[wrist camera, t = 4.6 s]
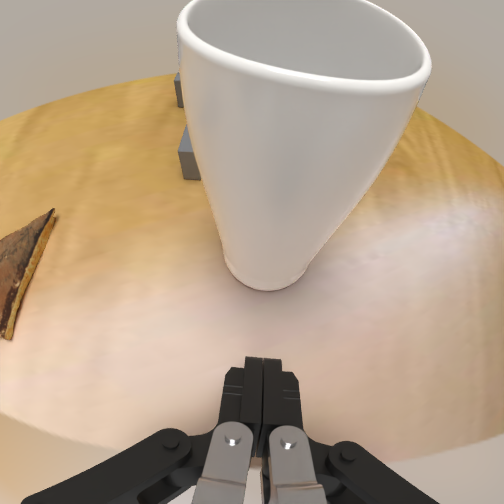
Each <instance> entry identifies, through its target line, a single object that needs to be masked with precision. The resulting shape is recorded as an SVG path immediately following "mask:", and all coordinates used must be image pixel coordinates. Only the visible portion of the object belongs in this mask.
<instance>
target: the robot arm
mask: <svg viewBox="0 0 504 504" xmlns="http://www.w3.org/2000/svg"><path fill="white" fill-rule="evenodd" d="M255 452H256V457H262V468H261V472H260V478H261V494H262V504H439V503H438V502H436V501H435V500H434V499H432V498H430V497H429V496H428V495H426V494H425V493H423V492H422V491H420V490H419V489H417V488H416V487H415V486H413V485H412V484H410V483H409V482H408V481H406V480H405V479H404V478H402V477H401V476H399V475H398V474H397V473H395V472H394V471H393V470H391V469H390V468H388V467H387V466H386V465H385V464H383V463H382V462H381V461H379V460H378V459H377V458H375V457H374V456H373V455H372V454H370V453H369V452H368V451H366V450H365V449H364V448H363V447H361V446H360V445H358V444H357V443H354V442H350V441H342V442H339V443H336V444H335V445H334V446H329V445H325V444H321V443H318V442H315V441H313V440H312V439H310V438H309V437H308V436H307V435H306V433H305V432H304V429H303V423H302V412H301V402H300V392H299V382H298V380H297V378H296V377H295V375H294V374H293V372H284V371H282V362H281V359H270V358H264V360H263V358H257V357H247V356H246V357H245V366H244V368H236V367H231V369H230V370H229V371H228V372H227V374H226V375H225V381H224V387H223V394H222V400H221V406H220V413H219V419H218V423H217V425H216V427H215V428H214V429H213V430H211V431H210V432H208V433H206V434H203V435H196V436H187V435H186V434H185V433H184V432H182V431H181V430H178V429H173V428H167V429H162V430H160V431H158V432H156V433H154V434H153V435H151V436H149V437H148V438H146V439H144V440H142V441H141V442H139V443H137V444H135V445H133V446H132V447H130V448H128V449H126V450H124V451H122V452H121V453H119V454H117V455H115V456H113V457H111V458H109V459H108V460H106V461H104V462H102V463H100V464H98V465H96V466H94V467H92V468H90V469H88V470H86V471H84V472H82V473H80V474H78V475H76V476H73V477H71V478H69V479H67V480H65V481H63V482H61V483H58V484H56V485H54V486H52V487H49V488H47V489H45V490H42V491H40V492H38V493H35V494H33V495H31V496H28V497H26V498H25V499H24V500H23V501H22V502H21V504H167V503H168V502H170V501H171V500H173V499H174V498H176V497H177V496H179V495H180V494H182V493H183V492H184V491H186V490H187V489H189V488H190V487H191V486H194V485H196V489H195V493H194V496H193V500H192V503H191V504H243V501H244V495H245V488H246V481H247V475H248V471H249V467H250V462H251V457H254V456H255Z"/></svg>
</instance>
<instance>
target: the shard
mask: <svg viewBox="0 0 504 504" xmlns="http://www.w3.org/2000/svg"><path fill="white" fill-rule="evenodd" d="M54 213H55V208H53V209H51V210H50V211H49V212H47V213H46V214H44V215H42V216H40V217H39V218H36V219H35V220H33V221H32V222H31V223H30V224H28V225H27V226H25V227H23V228H21V229H20V230H18V231H15V232H14V233H11V234H9V235H8V236H6V237H4V238H3V239H1V240H0V337H2V338H3V339H6V340H11V338H12V335H13V326H14V322H15V318H16V312H17V309H18V307H19V305H20V301H21V299H22V296H23V294H24V292H25V289H26V287H27V285H28V283H29V281H30V279H31V277H32V274H33V272H34V270H35V267H36V265H37V264H38V262H39V259H40V257H41V254H42V253H43V251H44V249H45V247H46V244H47V241H48V239H49V235H50V233H51V230H52V229H53V225H54V220H55V218H54V217H53V215H54Z"/></svg>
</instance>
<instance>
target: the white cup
mask: <svg viewBox="0 0 504 504" xmlns="http://www.w3.org/2000/svg"><path fill="white" fill-rule="evenodd" d="M176 29H177V42H178V59H179V71H180V81H181V90H182V98H183V104H184V111H185V117H186V122H187V127H188V132H189V137H190V141H191V145H192V149H193V152H194V156H195V159H196V163H197V166H198V169H199V173H200V176H201V179H202V182H203V186H204V189H205V192H206V195H207V198H208V201H209V204H210V208H211V211H212V214H213V217H214V220H215V224H216V227H217V230H218V233H219V237H220V240H221V243H222V249H223V255H224V259H225V262H226V265H227V267H228V268H229V270H230V272H231V273H232V274H233V275H234V276H235V277H236V278H237V279H238V280H239V281H240V282H242V283H243V284H245V285H247V286H249V287H251V288H254V289H257V290H264V291H272V290H279V289H282V288H285V287H287V286H289V285H291V284H293V283H294V282H296V281H297V280H298V279H299V278H300V277H301V276H302V275H303V274H304V272H305V271H306V269H307V267H308V266H309V264H310V262H311V261H312V260H313V258H314V257H315V256H316V255H317V253H318V252H319V251H320V250H321V248H322V247H323V246H324V245H325V244H326V242H327V241H328V240H329V239H330V237H331V236H332V235H333V234H334V232H335V231H336V230H337V229H338V228H339V226H340V225H341V224H342V223H343V221H344V220H345V219H346V218H347V217H348V215H349V214H350V213H351V212H352V210H353V209H354V208H355V207H356V205H357V204H358V203H359V202H360V200H361V199H362V198H363V196H364V195H365V194H366V192H367V191H368V190H369V188H370V187H371V186H372V184H373V183H374V181H375V180H376V179H377V177H378V176H379V174H380V173H381V171H382V170H383V168H384V166H385V165H386V163H387V162H388V160H389V158H390V157H391V155H392V153H393V152H394V150H395V148H396V147H397V145H398V143H399V141H400V139H401V137H402V136H403V134H404V132H405V130H406V128H407V126H408V124H409V122H410V120H411V117H412V115H413V113H414V111H415V109H416V106H417V104H418V102H419V100H420V97H421V95H422V92H423V90H424V87H425V85H426V83H427V81H428V79H429V77H430V74H431V70H432V61H431V57H430V54H429V52H428V49H427V48H426V46H425V44H424V43H423V42H422V40H421V39H420V38H419V36H418V35H417V34H416V33H415V32H414V31H413V30H412V29H411V28H410V27H409V26H407V25H406V24H405V23H404V22H402V21H401V20H400V19H398V18H397V17H396V16H394V15H393V14H391V13H389V12H388V11H386V10H384V9H383V8H381V7H379V6H377V5H375V4H373V3H371V2H369V1H366V0H192V1H191V2H190V3H188V4H187V5H186V6H185V7H184V8H183V9H182V11H181V12H180V14H179V16H178V18H177V24H176Z"/></svg>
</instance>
